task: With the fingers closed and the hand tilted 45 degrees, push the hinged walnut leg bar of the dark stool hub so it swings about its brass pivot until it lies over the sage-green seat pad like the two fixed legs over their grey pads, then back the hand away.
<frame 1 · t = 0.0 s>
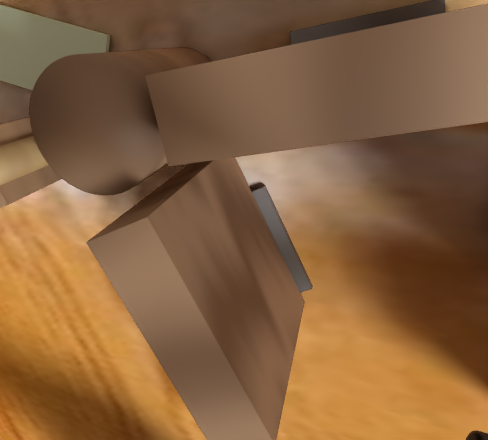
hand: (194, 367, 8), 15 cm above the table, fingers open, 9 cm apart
stool hub: (183, 96, 21), on the table
seat pad: (34, 52, 22), on the table
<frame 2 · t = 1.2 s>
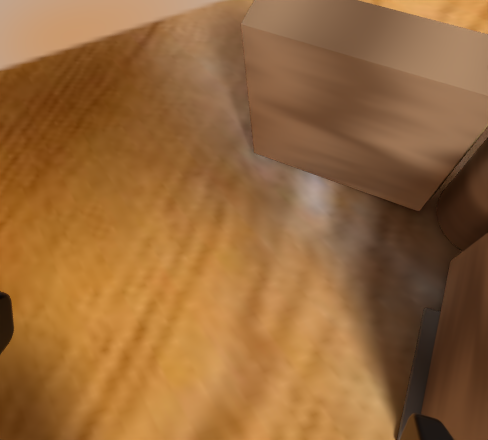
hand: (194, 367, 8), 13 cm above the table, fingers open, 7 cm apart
hinged leg: (359, 113, 19), point 5 cm above the table, hinge at 35.0°
stool hub: (482, 215, 22), on the table
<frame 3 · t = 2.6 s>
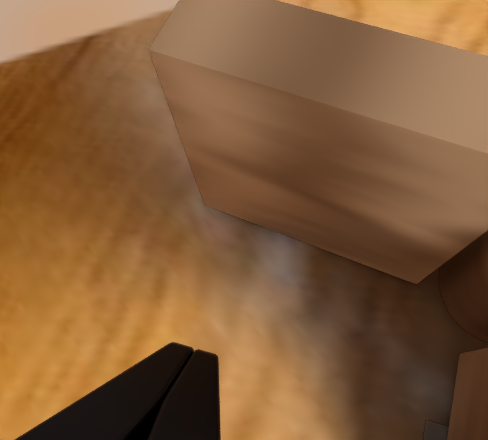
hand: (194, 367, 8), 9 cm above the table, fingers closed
hinged leg: (334, 165, 14), point 5 cm above the table, hinge at 35.0°
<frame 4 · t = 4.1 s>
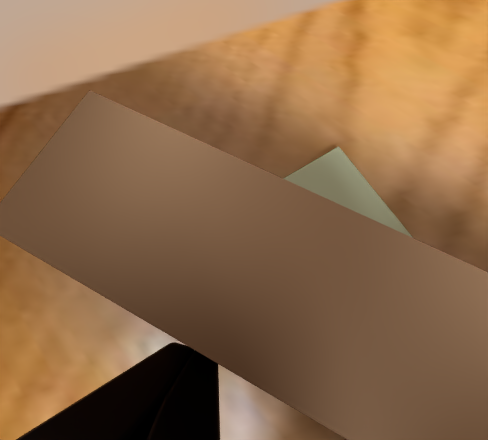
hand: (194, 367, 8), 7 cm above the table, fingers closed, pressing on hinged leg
hinged leg: (317, 350, 9), point 5 cm above the table, hinge at 29.8°, touching gripper
seat pad: (363, 261, 15), on the table
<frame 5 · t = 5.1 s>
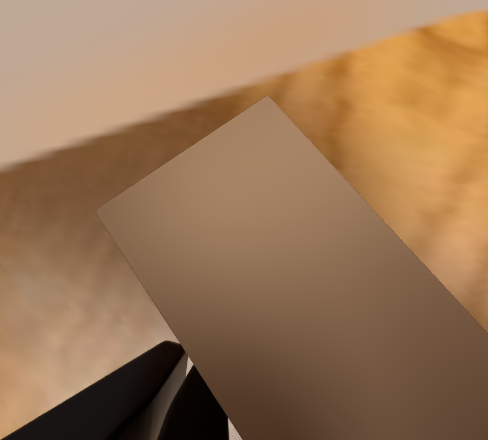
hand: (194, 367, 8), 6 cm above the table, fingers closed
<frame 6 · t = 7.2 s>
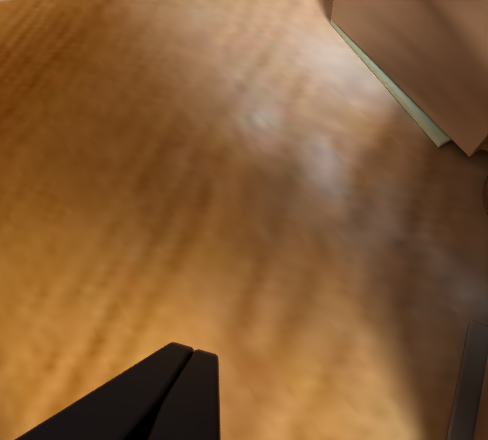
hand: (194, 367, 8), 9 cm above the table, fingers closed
seat pad: (413, 63, 20), on the table
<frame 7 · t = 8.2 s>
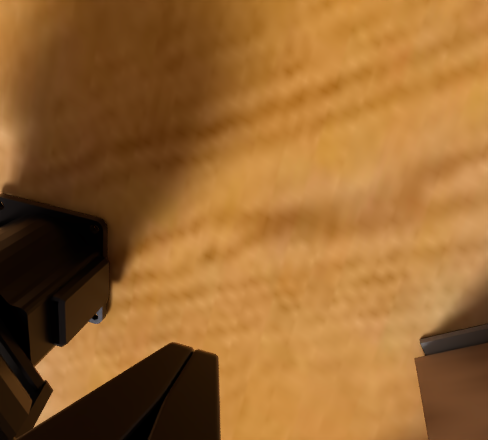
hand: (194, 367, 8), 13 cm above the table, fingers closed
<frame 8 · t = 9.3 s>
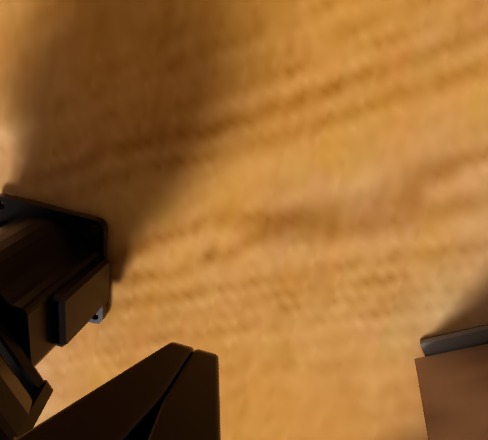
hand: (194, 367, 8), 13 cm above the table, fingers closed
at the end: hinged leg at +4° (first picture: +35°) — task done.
